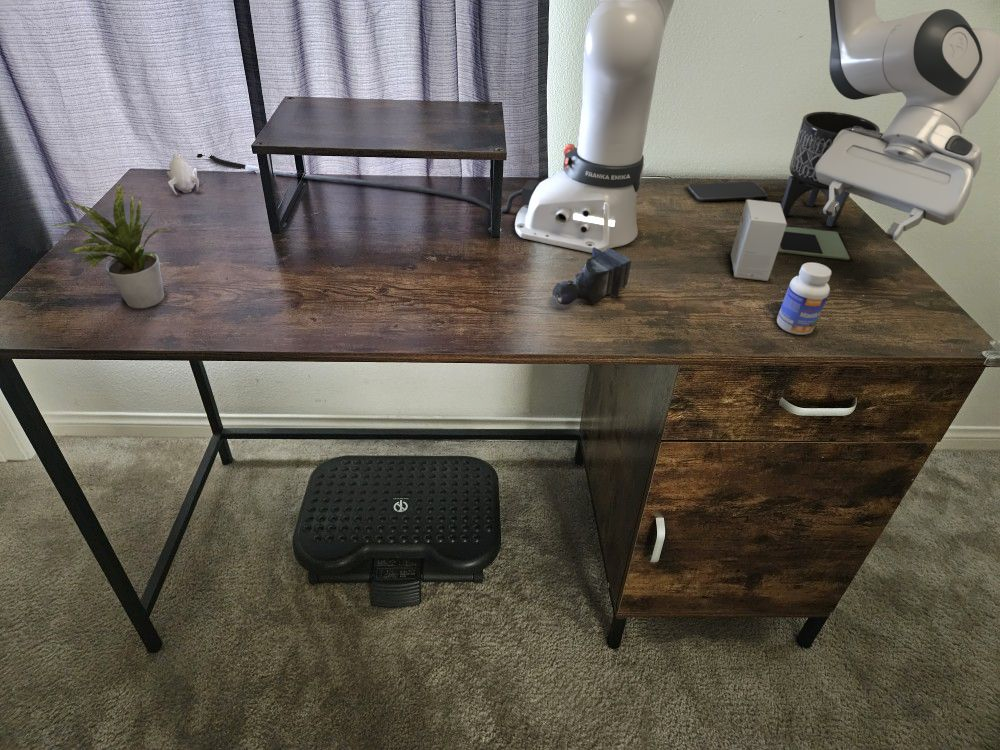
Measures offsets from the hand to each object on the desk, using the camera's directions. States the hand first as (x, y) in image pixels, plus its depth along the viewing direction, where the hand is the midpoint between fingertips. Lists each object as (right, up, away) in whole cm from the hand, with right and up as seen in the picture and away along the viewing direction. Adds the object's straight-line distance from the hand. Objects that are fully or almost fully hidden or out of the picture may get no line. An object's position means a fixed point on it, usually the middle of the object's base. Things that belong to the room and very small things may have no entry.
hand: (858, 225), depth 94 cm
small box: (-10, -4, +16) cm, 19 cm away
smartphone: (-6, +15, +39) cm, 42 cm away
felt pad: (+3, +2, +24) cm, 24 cm away
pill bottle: (-8, -14, +4) cm, 17 cm away
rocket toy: (-113, +14, +32) cm, 119 cm away
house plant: (-107, -10, +4) cm, 107 cm away
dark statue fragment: (-38, -10, +8) cm, 40 cm away
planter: (+8, +9, +33) cm, 35 cm away
